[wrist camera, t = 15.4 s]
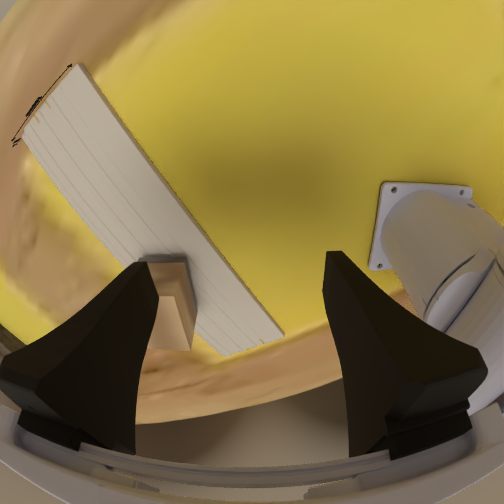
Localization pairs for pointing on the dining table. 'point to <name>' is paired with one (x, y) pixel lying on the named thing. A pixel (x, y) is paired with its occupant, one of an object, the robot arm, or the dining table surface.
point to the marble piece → (8, 343)
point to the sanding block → (172, 303)
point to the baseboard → (138, 207)
